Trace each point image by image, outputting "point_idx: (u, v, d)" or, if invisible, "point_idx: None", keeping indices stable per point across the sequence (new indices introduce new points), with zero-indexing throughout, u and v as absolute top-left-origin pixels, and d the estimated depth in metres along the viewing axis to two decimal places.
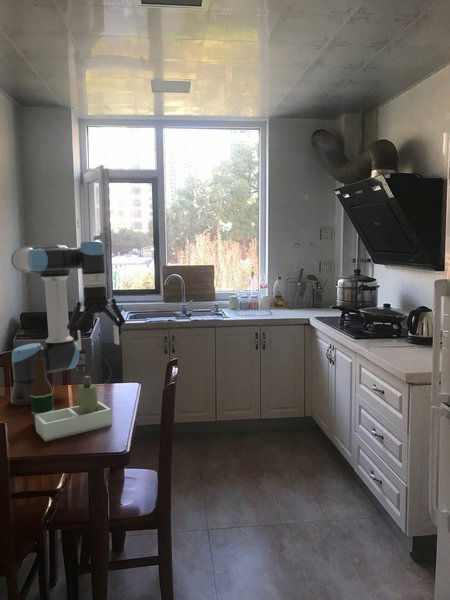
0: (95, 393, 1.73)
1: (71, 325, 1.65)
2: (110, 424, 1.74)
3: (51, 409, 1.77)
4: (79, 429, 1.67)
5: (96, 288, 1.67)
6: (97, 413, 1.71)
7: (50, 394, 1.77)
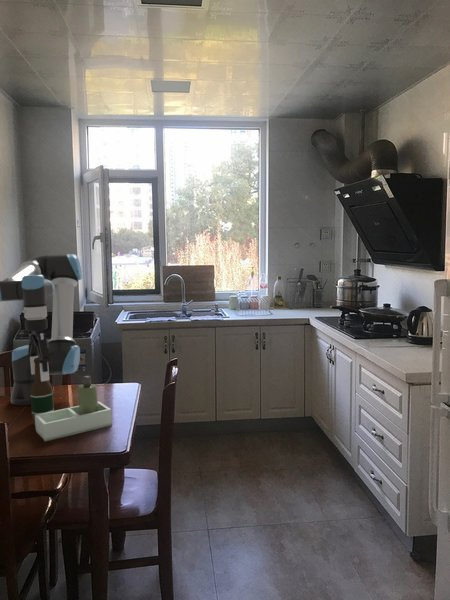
0: (95, 393, 1.73)
1: (28, 350, 1.83)
2: (110, 424, 1.74)
3: (51, 409, 1.77)
4: (79, 429, 1.67)
5: None
6: (97, 413, 1.71)
7: (50, 394, 1.77)
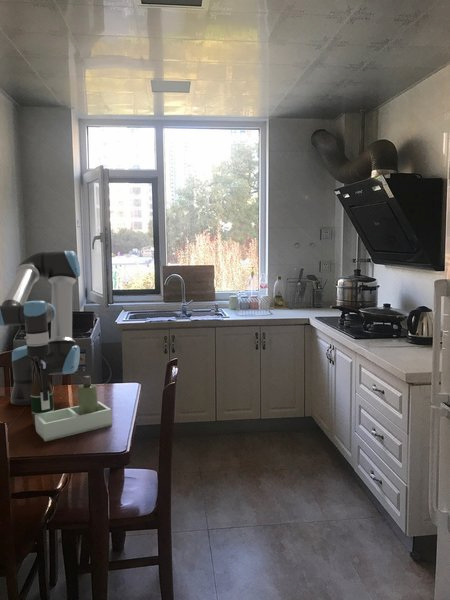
0: (95, 393, 1.73)
1: (32, 379, 1.83)
2: (110, 424, 1.74)
3: (51, 409, 1.77)
4: (79, 429, 1.67)
5: (26, 347, 1.75)
6: (97, 413, 1.71)
7: (50, 394, 1.77)
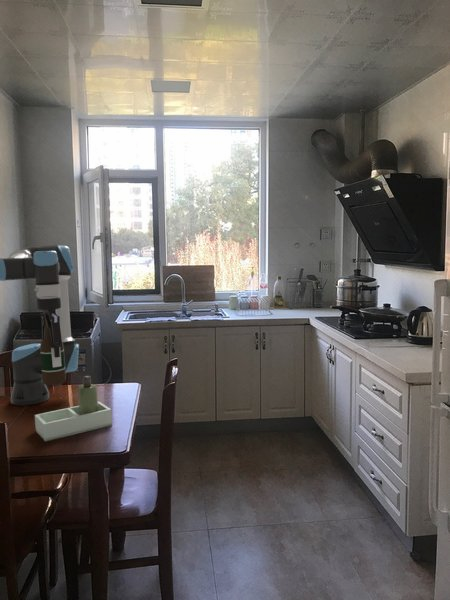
0: (95, 393, 1.73)
1: (42, 336, 1.71)
2: (110, 424, 1.74)
3: (62, 367, 1.66)
4: (79, 429, 1.67)
5: None
6: (97, 413, 1.71)
7: (61, 351, 1.65)
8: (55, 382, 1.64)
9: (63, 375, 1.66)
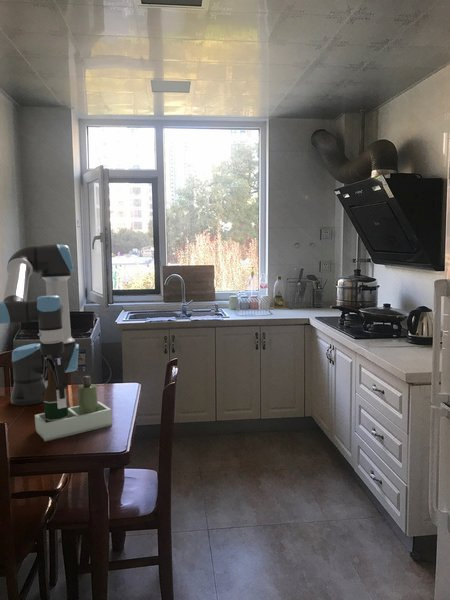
0: (95, 393, 1.73)
1: (43, 373, 1.74)
2: (110, 424, 1.74)
3: (66, 415, 1.68)
4: (79, 429, 1.67)
5: (40, 344, 1.65)
6: (97, 413, 1.71)
7: None
8: None
9: None
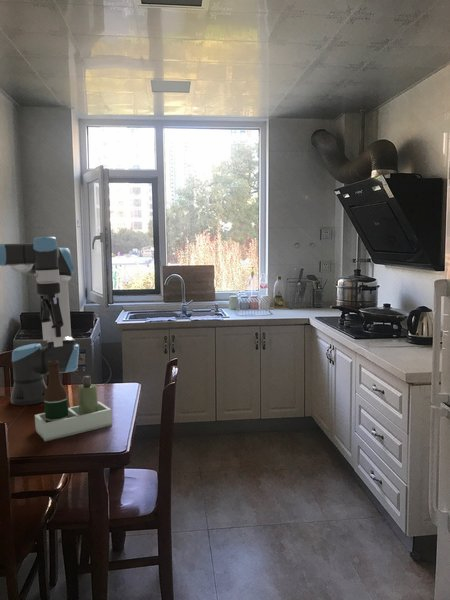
0: (95, 393, 1.73)
1: (40, 315, 1.77)
2: (110, 424, 1.74)
3: (66, 415, 1.68)
4: (79, 429, 1.67)
5: None
6: (97, 413, 1.71)
7: (65, 399, 1.67)
8: None
9: None
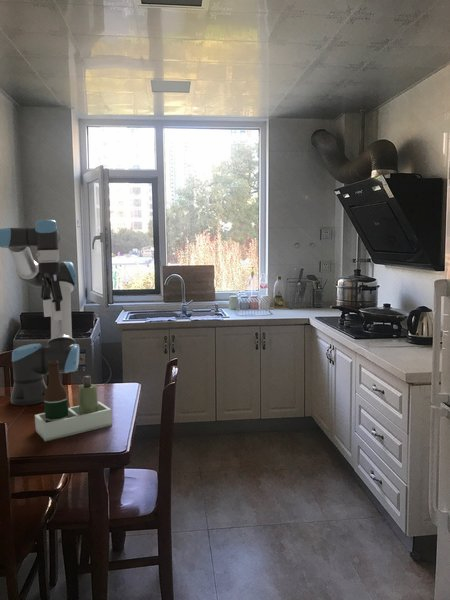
0: (95, 393, 1.73)
1: (41, 294, 1.92)
2: (110, 424, 1.74)
3: (66, 415, 1.68)
4: (79, 429, 1.67)
5: (38, 263, 1.83)
6: (97, 413, 1.71)
7: (65, 399, 1.67)
8: None
9: None
